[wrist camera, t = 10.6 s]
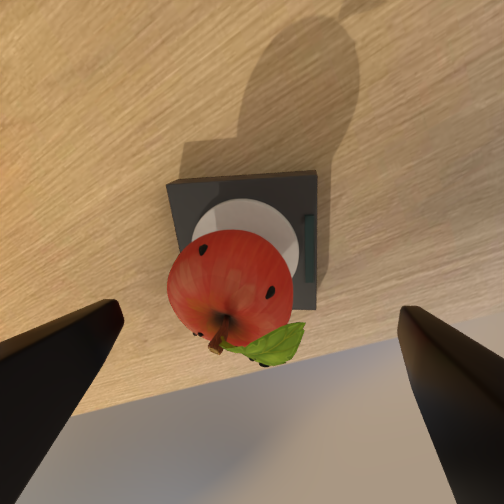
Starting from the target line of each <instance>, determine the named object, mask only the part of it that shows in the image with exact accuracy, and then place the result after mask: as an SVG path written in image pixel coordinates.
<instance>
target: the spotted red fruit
mask: <svg viewBox="0 0 504 504" xmlns="http://www.w3.org/2000/svg"><path fill="white" fill-rule="evenodd" d="M167 293H168V298H169V301H170V304H171V306H172V308H173V310H174V312H175V313H176V315H177V316H178V318H179V319H180V320H181V322H182V323H183V324H184V325H185V326H186V327H187V328H188V329H189V330H191V331H192V332H193V335H195V336H197V335H198V336H200V337H203V338H205V339H207V340H210V343H209V345H208V349H210V351H211V352H212V353H216V354H218V355H220V354H221V353H222V351H223V349H226V350H227V351H231V352H234V353H242V354H243V355H245V356H247V357H248V358H249V359H250V360H251V361H256V362H259V365H260V366H262V367H269V366H276V365H280V364H284V363H286V361H288V360H291V359H292V358H293V356H294V354H295V353H296V351H297V349H298V346H299V344H300V342H301V339H302V336H303V334H304V331H305V330H304V329H303V327H304V325H305V323H303V322H296V323H291V324H288V321H289V319H290V316H291V311H292V305H293V283H292V277H291V273H290V271H289V268H288V266H287V264H286V262H285V260H284V258H283V257H282V255H281V254H280V253H279V251H278V250H277V249H276V248H275V247H274V246H273V245H272V244H271V243H270V242H268V241H267V240H266V239H264V238H263V237H261V236H259V235H257V234H255V233H252V232H249V231H244V230H235V229H232V230H219V231H215V232H211V233H208V234H205V235H203V236H201V237H199V238H197V239H196V240H194V241H192V242H191V243H190V244H189V245H188V246H186V247H185V248H184V249H183V251H182V252H181V253H180V254H179V256H178V257H177V259H176V260H175V262H174V264H173V266H172V268H171V270H170V273H169V276H168V281H167Z"/></svg>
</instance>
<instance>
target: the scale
mask: <svg viewBox="0 0 504 504" xmlns="http://www.w3.org/2000/svg"><path fill="white" fill-rule="evenodd" d="M166 188H167V193H168V197H169V202H170V207H171V212H172V216H173V221H174V226H175V230H176V235H177V240H178V245H179V249H180V253H181V252H182V251H183V249H184V248H185V247H186V246H188V245H189V244H190V243H191V242H192V241H194V240H196V239H197V238H199V237H201V236H203V235H205V234H208V233H211V232H215V231H219V230H232V229H235V230H244V231H249V232H252V233H255V234H257V235H259V236H261V237H263V238H264V239H266V240H267V241H268V242H270V243H271V244H272V245H273V246H274V247H275V248H276V249H277V250H278V251H279V253H280V254H281V255H282V257H283V258H284V260H285V262H286V264H287V266H288V268H289V271H290V273H291V277H292V283H293V305H292V310H316V290H317V173H316V170H310V171H295V172H280V173H266V174H251V175H236V176H221V177H206V178H191V179H178V180H175V181H173V182H171V183H168V184H166Z"/></svg>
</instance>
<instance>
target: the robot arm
mask: <svg viewBox="0 0 504 504" xmlns="http://www.w3.org/2000/svg"><path fill="white" fill-rule="evenodd" d="M123 325H124V317H123V314H122V311H121V308H120V305H119V303H118V301H117V300H115V299H103V300H101V301H98V302H96V303H94V304H91V305H89V306H86V307H84V308H82V309H79V310H77V311H74V312H72V313H70V314H67V315H65V316H62V317H60V318H58V319H55V320H53V321H50V322H48V323H46V324H43V325H41V326H39V327H36V328H34V329H31V330H29V331H27V332H24V333H22V334H19V335H17V336H15V337H12V338H10V339H7V340H5V341H3V342H0V504H15V502H16V501H17V499H18V498H19V496H20V495H21V493H22V491H23V490H24V488H25V487H26V485H27V484H28V482H29V480H30V479H31V477H32V476H33V474H34V473H35V471H36V469H37V468H38V466H39V465H40V463H41V462H42V460H43V458H44V457H45V455H46V454H47V452H48V451H49V449H50V447H51V446H52V444H53V443H54V441H55V440H56V438H57V436H58V435H59V433H60V431H61V430H62V429H63V427H64V426H65V424H66V422H67V421H68V419H69V418H70V416H71V415H72V413H73V411H74V410H75V408H76V407H77V405H78V404H79V402H80V401H81V399H82V397H83V396H84V394H85V393H86V391H87V390H88V388H89V386H90V385H91V383H92V382H93V380H94V379H95V377H96V375H97V374H98V372H99V371H100V369H101V367H102V366H103V364H104V362H105V360H106V358H107V356H108V355H109V353H110V351H111V349H112V347H113V345H114V343H115V341H116V339H117V337H118V335H119V333H120V331H121V330H122V328H123ZM397 334H398V339H399V343H400V346H401V351H402V354H403V358H404V362H405V366H406V369H407V373H408V377H409V381H410V384H411V387H412V390H413V393H414V396H415V399H416V401H417V404H418V406H419V409H420V411H421V414H422V416H423V419H424V422H425V424H426V427H427V429H428V432H429V434H430V437H431V439H432V442H433V444H434V447H435V449H436V452H437V454H438V457H439V460H440V462H441V465H442V467H443V470H444V472H445V475H446V477H447V480H448V482H449V485H450V487H451V490H452V492H453V495H454V498H455V500H456V503H457V504H504V358H502V357H500V356H499V355H497V354H496V353H494V352H492V351H491V350H489V349H487V348H486V347H484V346H482V345H481V344H479V343H478V342H476V341H474V340H473V339H471V338H470V337H468V336H466V335H464V334H463V333H461V332H460V331H458V330H457V329H455V328H453V327H452V326H450V325H448V324H447V323H445V322H444V321H442V320H440V319H439V318H437V317H435V316H434V315H432V314H431V313H429V312H427V311H426V310H424V309H422V308H421V307H419V306H402V307H401V310H400V315H399V322H398V329H397Z"/></svg>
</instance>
